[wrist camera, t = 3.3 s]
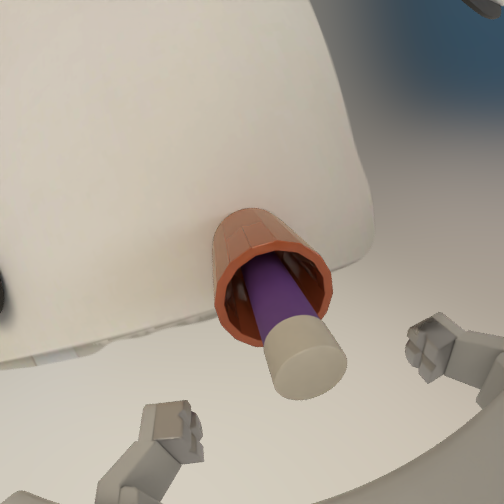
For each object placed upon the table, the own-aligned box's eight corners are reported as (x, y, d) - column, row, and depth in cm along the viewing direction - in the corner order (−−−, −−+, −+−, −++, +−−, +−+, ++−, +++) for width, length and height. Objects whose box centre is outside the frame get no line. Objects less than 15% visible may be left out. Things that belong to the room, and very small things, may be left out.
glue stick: (265, 227, 21) (347, 335, 8) (272, 259, 22) (347, 385, 9) (231, 236, 21) (267, 361, 8) (239, 268, 22) (280, 408, 9)
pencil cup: (280, 199, 21) (325, 227, 13) (293, 269, 23) (336, 328, 15) (203, 219, 21) (199, 261, 12) (224, 288, 23) (233, 359, 15)
